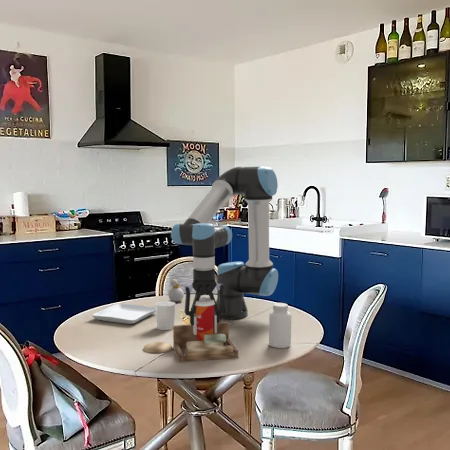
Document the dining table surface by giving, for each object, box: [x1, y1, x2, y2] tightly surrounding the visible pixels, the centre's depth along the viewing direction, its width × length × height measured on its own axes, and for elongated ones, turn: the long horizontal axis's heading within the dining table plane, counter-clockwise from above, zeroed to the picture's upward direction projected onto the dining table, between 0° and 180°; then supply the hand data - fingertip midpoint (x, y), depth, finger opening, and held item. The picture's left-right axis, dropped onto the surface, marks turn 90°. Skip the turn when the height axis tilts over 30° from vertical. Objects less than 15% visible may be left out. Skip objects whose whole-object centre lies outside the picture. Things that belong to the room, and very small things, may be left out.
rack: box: [172, 321, 239, 363], centre depth 179 cm, size 20×15×8 cm
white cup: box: [155, 300, 176, 331], centre depth 207 cm, size 8×8×10 cm
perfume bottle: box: [168, 277, 185, 303], centre depth 249 cm, size 8×10×12 cm
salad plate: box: [91, 302, 156, 325], centre depth 222 cm, size 21×21×3 cm
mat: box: [143, 341, 173, 354], centre depth 183 cm, size 10×10×1 cm
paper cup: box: [194, 296, 215, 341], centre depth 180 cm, size 8×8×14 cm
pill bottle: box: [268, 302, 292, 349], centre depth 186 cm, size 8×8×15 cm
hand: (205, 332), depth 180 cm, fingers closed on paper cup, 6 cm apart
